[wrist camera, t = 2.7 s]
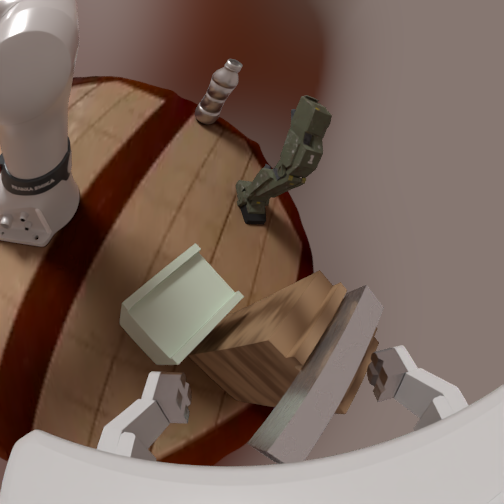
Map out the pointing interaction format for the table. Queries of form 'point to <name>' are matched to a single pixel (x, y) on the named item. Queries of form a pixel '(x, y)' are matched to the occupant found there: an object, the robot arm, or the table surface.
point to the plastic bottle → (218, 92)
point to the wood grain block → (275, 343)
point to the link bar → (320, 381)
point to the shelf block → (177, 308)
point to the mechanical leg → (287, 161)
